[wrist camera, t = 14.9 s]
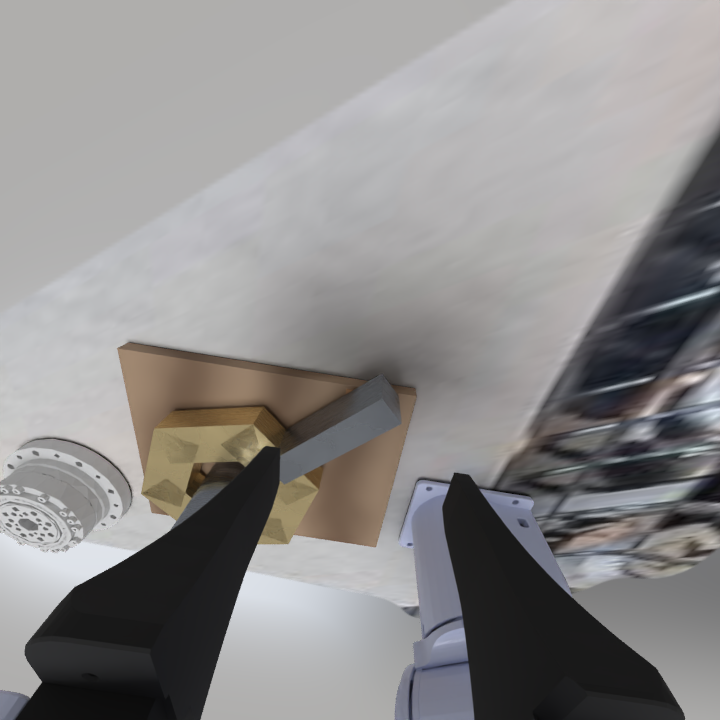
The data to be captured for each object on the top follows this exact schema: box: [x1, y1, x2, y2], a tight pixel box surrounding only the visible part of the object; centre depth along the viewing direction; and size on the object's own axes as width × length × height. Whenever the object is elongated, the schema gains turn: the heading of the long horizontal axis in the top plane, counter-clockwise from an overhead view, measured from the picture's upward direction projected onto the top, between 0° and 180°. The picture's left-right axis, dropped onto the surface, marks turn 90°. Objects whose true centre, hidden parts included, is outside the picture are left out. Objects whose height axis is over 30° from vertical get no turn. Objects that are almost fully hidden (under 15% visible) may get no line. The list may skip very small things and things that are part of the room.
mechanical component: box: [0, 439, 131, 553], centre depth 26 cm, size 10×4×10 cm
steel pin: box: [171, 462, 245, 530], centre depth 22 cm, size 4×4×6 cm
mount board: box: [117, 343, 417, 547], centre depth 25 cm, size 20×16×1 cm
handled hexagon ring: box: [141, 374, 402, 544], centre depth 22 cm, size 20×13×3 cm
